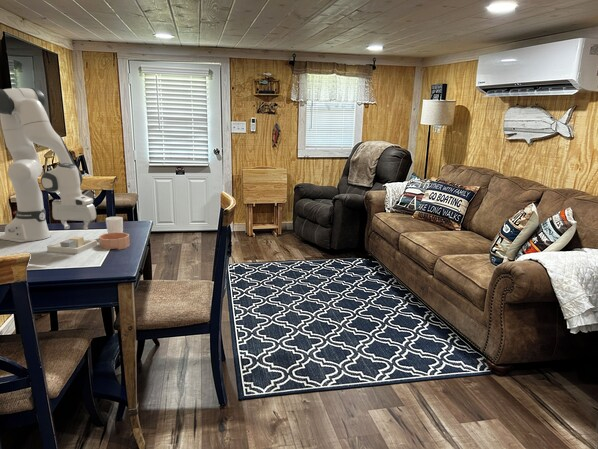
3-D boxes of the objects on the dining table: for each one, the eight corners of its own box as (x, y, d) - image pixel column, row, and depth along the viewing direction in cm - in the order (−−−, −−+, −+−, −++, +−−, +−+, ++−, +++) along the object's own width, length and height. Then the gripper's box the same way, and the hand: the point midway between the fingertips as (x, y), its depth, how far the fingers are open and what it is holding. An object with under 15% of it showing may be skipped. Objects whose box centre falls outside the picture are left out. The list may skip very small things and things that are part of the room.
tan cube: (70, 246, 207) (69, 238, 206) (75, 244, 211) (75, 236, 210) (78, 247, 206) (77, 239, 205) (84, 245, 210) (83, 237, 209)
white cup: (118, 240, 222) (116, 220, 220) (103, 239, 224) (102, 219, 221) (127, 236, 230) (125, 217, 227) (113, 235, 231) (111, 216, 229)
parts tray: (47, 252, 200) (47, 246, 200) (68, 244, 214) (68, 238, 213) (78, 255, 198) (77, 248, 197) (97, 246, 211) (96, 240, 210)
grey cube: (61, 250, 201) (60, 242, 200) (67, 248, 205) (66, 239, 204) (70, 251, 200) (69, 242, 199) (75, 248, 204) (75, 240, 203)
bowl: (94, 249, 207) (93, 238, 206) (110, 241, 220) (109, 231, 218) (119, 251, 205) (119, 240, 204) (134, 243, 217) (134, 233, 216)
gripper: (46, 200, 201) (51, 230, 205) (87, 201, 198) (91, 232, 201) (56, 197, 207) (61, 226, 211) (96, 198, 204) (100, 228, 207)
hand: (76, 229), depth 206 cm, fingers open, 8 cm apart
